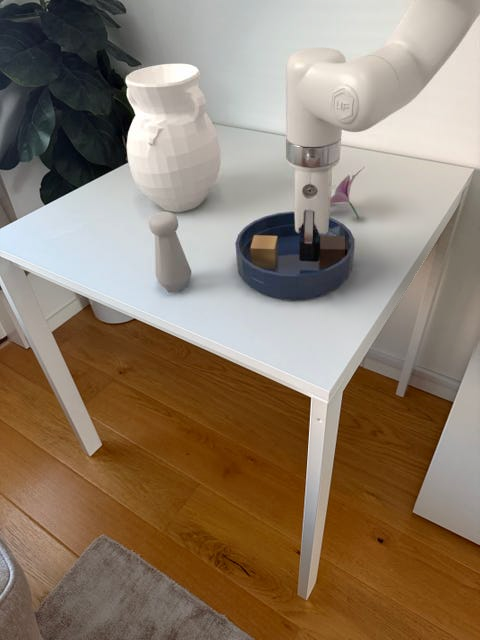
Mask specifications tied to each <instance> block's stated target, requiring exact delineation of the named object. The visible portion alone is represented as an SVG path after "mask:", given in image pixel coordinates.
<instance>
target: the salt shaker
mask: <svg viewBox="0 0 480 640" xmlns="http://www.w3.org/2000/svg"><path fill="white" fill-rule="evenodd" d="M148 227H149V229H150V231H151V233H152V234H153V235H154V254H155V255H154V259H155V261H154V262H155V263H154V264H155V266H154V267H155V277H156V280H157V282H158V284H160V286H161V287H162V288H163V289H165V290H166V292H168V293H181V292H182V291H184V290H185V289H187V288H188V286H189V283H190V280H191V276H192V268H191V266H190V264H189V262H188V259H187V257H186V254H185V252H184V250H183V246H182V244H181V241H180V239H179V236H178V234H177V230H178V228H179V221H178V218H177V215H176V214H175V213H174V212H172V211H167V210H165V211H158V212H156V213H153V214H152V215H151V216H150V218H149V219H148Z"/></svg>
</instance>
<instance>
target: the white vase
mask: <svg viewBox="0 0 480 640" xmlns="http://www.w3.org/2000/svg"><path fill="white" fill-rule="evenodd" d="M200 81H201V71H200V70H199V69H198V67H196V66H194V65H192V64H190V63H164V64H163V63H162V64H156V65H151V66H146V67H142V68H139V69H136V70H133V71H131V72H130V73H128V74H127V75H126V77H125V84H126V86H127V88H126V98H127V101H128V102H129V104H130V106H131V108H132V109H133V112H134V115H135V116H134V117H133V119H132V122H131V124H130V126H129V129H128V132H127V139H126V140H127V141H126V155H127V162H128V166H129V169H130V173H131V176H132V179H133V182H134V183H135V185H136V186H137V188H138V189H139V191H140V192H141V193H142V194H143V195H144V196H145V197H146V198H147V199H148V200H149V201H151V202H153V203H155V204H156V205H157V206H158V207H160V208H161V209H163V210H165V211H166V212H171V213H182V212H187V211H192V210H193V209H196V208H198V207H199V206H201V204H202V203H203V202H204V200H205V199H207V196H208V194H210V192H211V190H212V188H213V187H214V185H215V183H216V181H217V179H218V177H219V172H220V169H221V147H220V146H221V145H220V142H219V138H218V133H217V130H216V128H215V127H216V126H215V125H214V123H213V122H212V120H211V118H210V116H209V115H208V113H207V112H206V110H207V100H206V96H205V94H204V93H203V91H202V90H201V89H200V87H199V86H200Z"/></svg>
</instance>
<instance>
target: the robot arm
mask: <svg viewBox="0 0 480 640" xmlns="http://www.w3.org/2000/svg"><path fill="white" fill-rule="evenodd" d="M479 16H480V0H412V1H411V4H410V5H409V7H408V9H407V10H406V12H405V14H404V15H403V16H402V18H401V20H400V21H399V23H398V24H397V26H396V27H395V29H394V30H393V32H392V33H391V34H390V35H389V37H388V38H387V40H386V42H385V43H384V44H383V45H382V46H381V47H380V48H378V49H376V50H374V51H371V52H370V53H367V54H364V55H363V56H360V57H359V58H355V59H352V60H349V61H347V59H346V57H345V55H344V54H343V53H342V52H341V51H339V50H337V49H335V48H330V47H309V48H308V47H307V48H303V49H300V50H297V51H295V52H293V53H292V54H291V55H290V56H289V57H288V59H287V62H286V64H285V65H286V66H285V137H286V138H285V147H286V148H285V160H286V164H287V165H288V166H289V167H291V168H293V169H294V170H293V171H294V173H293V174H294V176H293V190H294V191H293V203H294V205H293V208H294V210H293V212H295V231H296V232H297V233H299V232H301V235H300V249H299V260H300V261H311V262H318V261H319V255H320V236H319V234H326V233H327V232H328V227H329V217H330V215H331V214H330V213H331V204H330V201H331V198H332V189H331V188H332V187H333V186H332V184H333V168H334V167H336V166H338V164H339V163H340V160H341V146H342V134H343V133H342V132H343V131H344V132H345V131H346V132H349V133H360V132H364V131H367V130H369V129H371V128H373V127H374V126H376V125H377V124H379V123H380V122H382V121H384V120H385V119H387V118H388V117H390V116H391V115H393V114H395V113H396V112H398V111H399V110H401V109H403V108H404V107H406V106H408V105H409V104H410V103H411V102H412V101H413V100H415V99H416V98H417V97H418V96H419V95H420V93H422V92H423V90H424V89H425V88H426V87H427V85H428V84H429V83H430V82H431V81H432V79H433V78H434V77H435V75H437V73H438V72H439V71H440V70H441V68H443V66H444V65H445V64H446V62H447V61H448V60H449V59H450V57H451V56H452V55H453V53H454V52H455V51H456V50H457V48H458V47H459V46H460V44H461V43H462V41H464V38H465V37H466V35H468V32H469V31H470V30H471V28H472V26H473V24H474V23H475V22H476V20H477V19H478V18H479Z"/></svg>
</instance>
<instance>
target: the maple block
mask: <svg viewBox="0 0 480 640" xmlns="http://www.w3.org/2000/svg"><path fill="white" fill-rule="evenodd" d="M250 251H251V263H252V264H253V265H255V266H257V267H260V268H264V269H275V267H276V262H277V258H278V236H264V235H254V237H253V241H252V244H251V248H250Z"/></svg>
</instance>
